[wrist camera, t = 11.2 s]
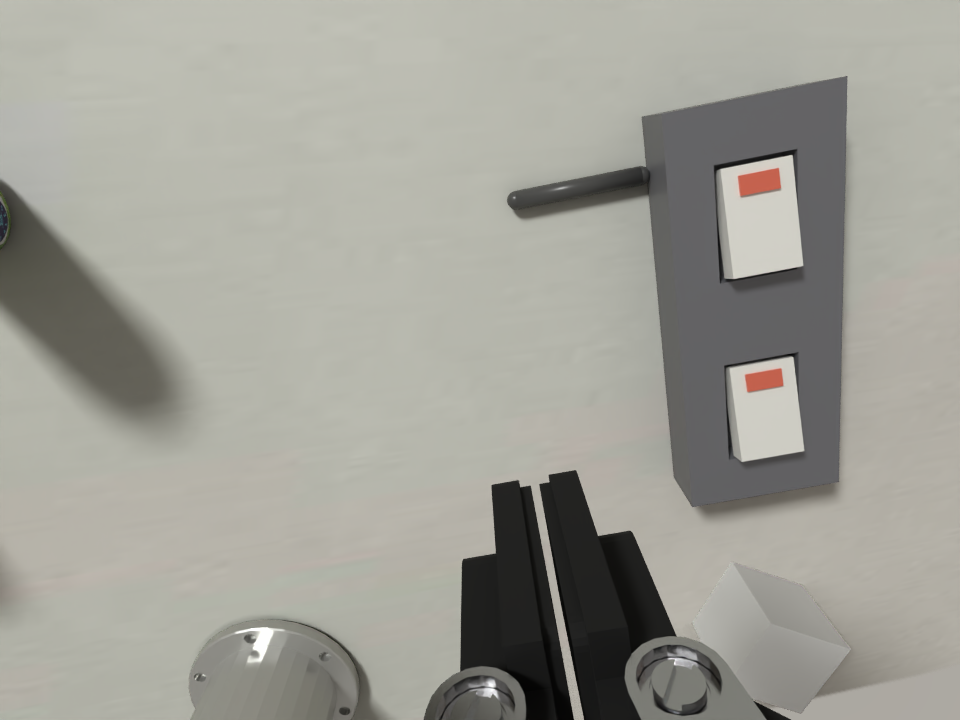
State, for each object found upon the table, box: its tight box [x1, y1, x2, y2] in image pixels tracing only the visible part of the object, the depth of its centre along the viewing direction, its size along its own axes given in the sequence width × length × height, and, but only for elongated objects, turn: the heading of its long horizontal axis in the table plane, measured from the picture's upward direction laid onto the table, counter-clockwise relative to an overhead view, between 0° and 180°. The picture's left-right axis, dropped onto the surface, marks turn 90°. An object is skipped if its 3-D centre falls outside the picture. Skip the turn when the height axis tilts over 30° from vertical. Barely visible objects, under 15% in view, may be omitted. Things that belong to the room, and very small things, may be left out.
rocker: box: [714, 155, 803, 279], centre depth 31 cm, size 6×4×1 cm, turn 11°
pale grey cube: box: [692, 562, 851, 713], centre depth 41 cm, size 6×6×6 cm
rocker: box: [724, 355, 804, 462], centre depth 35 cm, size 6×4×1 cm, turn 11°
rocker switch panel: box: [507, 76, 847, 507], centre depth 35 cm, size 23×17×4 cm
